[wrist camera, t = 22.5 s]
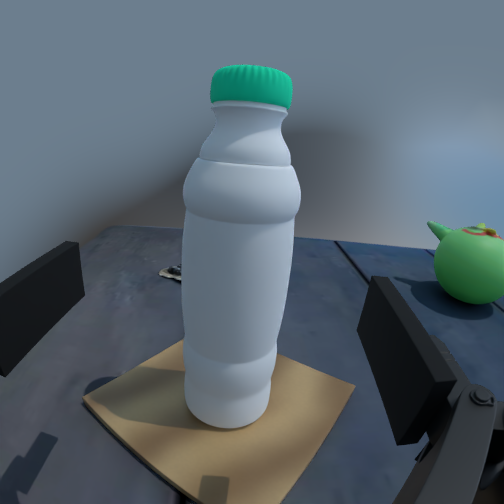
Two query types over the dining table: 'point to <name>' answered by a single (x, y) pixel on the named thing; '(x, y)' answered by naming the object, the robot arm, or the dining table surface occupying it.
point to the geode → (172, 272)
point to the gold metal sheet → (221, 430)
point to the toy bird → (469, 262)
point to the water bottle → (237, 247)
